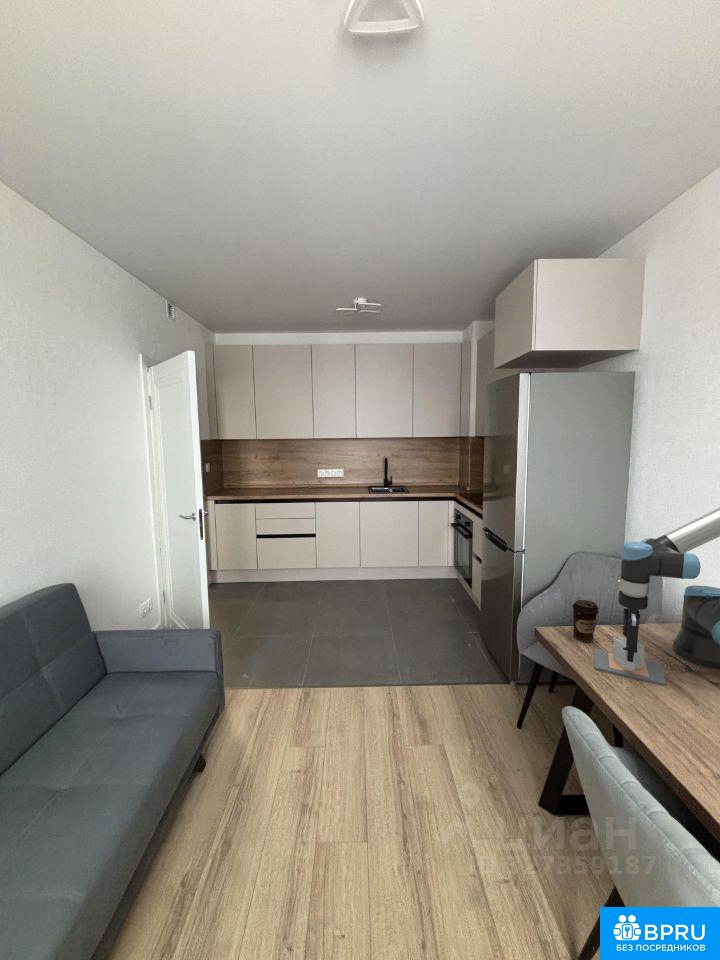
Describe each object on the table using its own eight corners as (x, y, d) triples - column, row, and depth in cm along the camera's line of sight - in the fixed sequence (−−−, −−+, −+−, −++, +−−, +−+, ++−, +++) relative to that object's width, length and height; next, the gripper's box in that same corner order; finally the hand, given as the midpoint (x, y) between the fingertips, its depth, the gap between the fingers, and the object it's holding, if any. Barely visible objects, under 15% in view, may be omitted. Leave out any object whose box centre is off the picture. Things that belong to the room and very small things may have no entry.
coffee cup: (602, 644, 145) (605, 608, 143) (577, 644, 145) (580, 608, 143) (589, 632, 153) (591, 598, 152) (566, 632, 154) (568, 598, 152)
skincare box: (643, 669, 128) (645, 646, 127) (623, 669, 128) (625, 646, 127) (630, 658, 134) (632, 636, 133) (611, 658, 134) (613, 636, 133)
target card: (658, 664, 133) (659, 661, 133) (666, 686, 121) (666, 683, 121) (593, 650, 141) (594, 647, 141) (594, 669, 130) (595, 666, 130)
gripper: (616, 580, 139) (611, 645, 142) (621, 603, 121) (615, 677, 124) (643, 584, 136) (637, 650, 139) (653, 608, 118) (646, 684, 120)
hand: (627, 662), depth 131 cm, fingers closed on skincare box, 8 cm apart
